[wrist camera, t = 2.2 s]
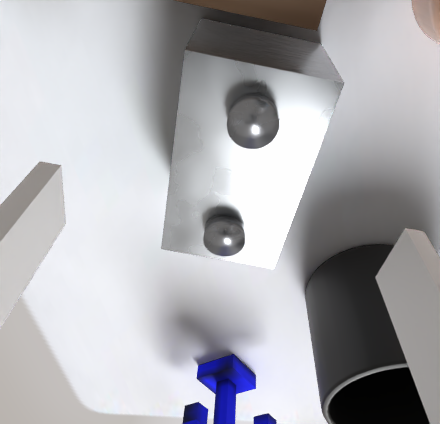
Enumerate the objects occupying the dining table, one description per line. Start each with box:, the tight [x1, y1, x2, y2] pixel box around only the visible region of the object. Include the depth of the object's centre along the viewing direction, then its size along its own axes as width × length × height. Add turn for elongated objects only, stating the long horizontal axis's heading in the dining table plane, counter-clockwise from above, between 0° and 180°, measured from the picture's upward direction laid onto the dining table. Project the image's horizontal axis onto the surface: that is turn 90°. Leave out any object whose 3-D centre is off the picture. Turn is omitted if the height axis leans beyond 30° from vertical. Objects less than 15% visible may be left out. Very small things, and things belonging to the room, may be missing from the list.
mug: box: [305, 245, 430, 424], centre depth 26 cm, size 9×12×9 cm
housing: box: [161, 18, 344, 269], centre depth 19 cm, size 10×6×7 cm, turn 170°
